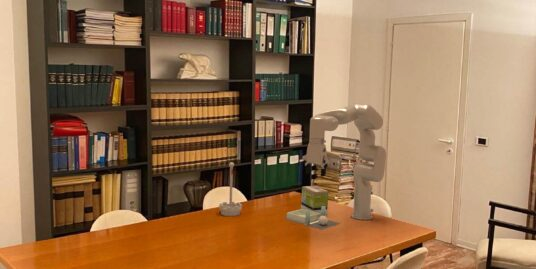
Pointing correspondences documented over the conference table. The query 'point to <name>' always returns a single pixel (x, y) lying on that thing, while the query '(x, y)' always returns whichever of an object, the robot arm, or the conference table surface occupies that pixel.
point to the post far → (323, 210)
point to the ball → (323, 220)
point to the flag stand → (230, 208)
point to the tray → (302, 216)
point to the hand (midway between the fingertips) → (315, 174)
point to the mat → (318, 224)
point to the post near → (307, 217)
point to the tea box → (314, 198)
